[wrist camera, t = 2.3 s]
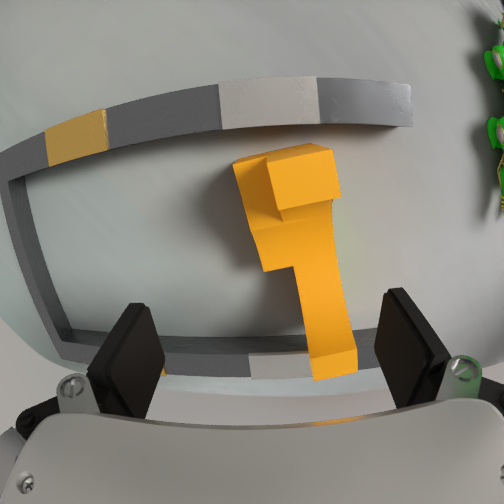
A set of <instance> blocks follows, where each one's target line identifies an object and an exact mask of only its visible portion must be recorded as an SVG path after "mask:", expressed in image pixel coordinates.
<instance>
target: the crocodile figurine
mask: <svg viewBox="0 0 504 504" xmlns="http://www.w3.org/2000/svg"><path fill="white" fill-rule="evenodd" d="M502 15H503V19H502V22H501V23H500V21H499V19H498V24H499V25H500V27H501V28H502V29H503V30H504V13H502ZM484 61H485V64H486V67H487V69H488V71H489V74H490V76H491V77H492V79H493V80H494V79H495V78H497V79H500V80H504V42H503V46H502V45H495V46H494V47H493V48H492V51H485V53H484ZM502 91H503V92H504V89H503V90H502ZM487 131H488V136H489V139H490V142H491V145H492V147H493V149H495V148H496V147H498V148H502V149H503V152H504V116H503V117H502V118H500V119H497V118H496V117H491V118H490V119H489V120H488V123H487ZM501 158H502V159H501V161H502V163H501V161H500V164H499V166H498V170H499V168H500V172H499V171H498V170H497V172H498V176H499V181H500V187H501V189H502V195H500V198H502V199H503V200H501V203H503V204H502V205H501V207H503V209H502V210H503V211H504V163H503V160H504V154H503V156H502V157H501ZM501 164H503V166H502V167H500V165H501Z"/></svg>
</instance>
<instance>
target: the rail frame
mask: <svg viewBox="0 0 504 504" xmlns="http://www.w3.org/2000/svg"><path fill="white" fill-rule="evenodd" d="M291 124H365V125H384V126H397V127H413V119H412V103H411V91H410V85H407V84H400V83H392V82H383V81H373V80H361V79H344V78H316V76H292V77H270V78H256V79H244V80H235V81H226V82H219V83H218V84H215V85H208V86H202V87H196V88H190V89H184V90H179V91H174V92H169V93H164V94H160V95H155V96H151V97H147V98H143V99H139V100H135V101H131V102H128V103H124V104H120V105H117V106H114V107H110V108H107V109H99V110H96V111H93V112H90V113H87V114H85V115H82V116H79V117H76V118H73V119H71V120H68V121H66V122H63V123H61V124H58V125H56V126H53V127H51V128H48V129H46V130H45V131H44V132H42V133H40V134H38V135H35V136H33V137H31V138H29V139H27V140H24V141H22V142H20V143H18V144H16V145H14V146H12V147H10V148H8V149H6V150H4V151H3V152H1V153H0V194H1V199H2V204H3V208H4V213H5V217H6V221H7V225H8V229H9V232H10V236H11V239H12V243H13V246H14V249H15V252H16V256H17V259H18V262H19V265H20V267H21V270H22V273H23V276H24V279H25V281H26V284H27V286H28V289H29V291H30V294H31V296H32V299H33V301H34V304H35V306H36V308H37V310H38V313H39V315H40V317H41V319H42V321H43V323H44V326H45V328H46V330H47V332H48V334H49V336H50V338H51V340H52V342H53V344H54V345H55V347H56V349H57V351H58V353H59V355H60V357H61V358H62V359H65V360H70V361H75V362H80V363H85V364H91V362H92V360H93V359H94V357H95V355H96V354H97V352H98V351H99V349H100V347H101V346H102V344H103V343H104V341H105V340H106V338H107V336H108V335H109V333H106V332H95V331H85V330H76V329H71V327H70V324H69V322H68V320H67V318H66V315H65V313H64V311H63V308H62V306H61V304H60V301H59V299H58V296H57V294H56V291H55V288H54V286H53V283H52V280H51V278H50V275H49V272H48V269H47V266H46V263H45V260H44V257H43V254H42V250H41V247H40V244H39V240H38V237H37V233H36V229H35V226H34V222H33V218H32V214H31V209H30V205H29V200H28V196H27V191H26V185H25V180H24V176H25V175H27V174H30V173H33V172H36V171H39V170H42V169H45V168H48V167H51V166H54V165H57V164H60V163H63V162H67V161H70V160H73V159H77V158H80V157H84V156H87V155H91V154H95V153H99V152H103V151H107V150H111V149H115V148H119V147H123V146H128V145H132V144H137V143H142V142H147V141H152V140H157V139H163V138H168V137H174V136H180V135H187V134H194V133H201V132H208V131H216V130H225V129H234V128H245V127H257V126H271V125H291ZM352 333H353V337H354V340H355V344H356V347H357V360H358V370H361V369H369V368H376V367H381V366H380V364H379V362H378V359H377V357H376V354H375V351H374V343H375V338H376V333H377V328H373V329H365V330H355V331H352ZM158 337H159V340H160V343H161V346H162V349H163V352H164V354H165V364H164V367H163V369H162V372H161V375H160V376H166V375H167V374H173V375H188V376H209V377H251V379H283V378H302V377H313V374H312V368H311V363H310V357H309V350H308V343H307V337H306V335H290V336H268V337H170V336H158Z"/></svg>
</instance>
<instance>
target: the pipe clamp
mask: <svg viewBox="0 0 504 504" xmlns="http://www.w3.org/2000/svg"><path fill="white" fill-rule="evenodd" d="M233 169H234V172H235V176H236V179H237V183H238V187H239V190H240V194H241V198H242V201H243V205H244V209H245V212H246V216H247V220H248V223H249V227H250V231H251V233H252V235H253V238H254V241H255V243H256V246H257V249H258V253H259V256H260V259H261V263H262V267H263V271H264V272H266V271H271V270H276V269H281V268H286V267H290V266H293V267H294V272H295V276H296V281H297V286H298V292H299V297H300V302H301V308H302V313H303V319H304V325H305V331H306V337H307V343H308V350H309V357H310V363H311V368H312V374H313V379H314V381H318V380H323V379H328V378H333V377H338V376H342V375H347V374H351V373H355V372H358V360H357V347H356V344H355V340H354V337H353V333H352V329H351V325H350V321H349V317H348V313H347V309H346V304H345V299H344V295H343V290H342V285H341V279H340V274H339V268H338V262H337V256H336V250H335V243H334V235H333V225H332V202H333V199H335V198H340V197H341V192H340V187H339V181H338V176H337V170H336V165H335V160H334V155H333V151H332V149H329V148H326V147H322V146H319V145H315V144H312V143H308V144H303V145H298V146H293V147H288V148H284V149H279V150H275V151H270V152H266V153H261V154H257V155H253V156H249V157H245V158H241V159H238V160H237V161H236V162H235V163H234V164H233Z"/></svg>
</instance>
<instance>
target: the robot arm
mask: <svg viewBox="0 0 504 504" xmlns="http://www.w3.org/2000/svg"><path fill="white" fill-rule="evenodd" d="M374 351H375V354H376V357H377V359H378V362H379V364H380V366H381V369H382V371H383V374H384V376H385V379H386V381H387V384H388V387H389V389H390V392H391V394H392V397H393V400H394V402H395V405H396V408H397V409H394V410H390V411H384V412H379V413H374V414H369V415H363V416H357V417H350V418H345V419H336V420H329V421H320V422H310V423H298V424H283V425H258V426H225V425H200V424H185V423H173V422H163V421H155V420H147V419H145V417H146V414H147V411H148V408H149V405H150V403H151V400H152V397H153V394H154V391H155V389H156V386H157V383H158V380H159V378H160V375H161V372H162V369H163V367H164V364H165V354H164V352H163V349H162V346H161V343H160V340H159V337H158V334H157V331H156V328H155V325H154V322H153V319H152V316H151V312H150V309H149V307H147V306H145V304H144V303H130V304H129V305H128V306H127V308H126V309H125V311H124V312H123V314H122V315H121V317H120V318H119V320H118V321H117V323H116V324H115V326H114V327H113V329H112V330H111V332H110V333H109V335H108V336H107V338H106V340H105V341H104V343H103V344H102V346H101V347H100V349H99V351H98V352H97V354H96V355H95V357H94V359H93V360H92V362H91V364H90V365H89V367H88V369H87V370H88V373H87V374H86V376H85V375H83V374H80V373H75V374H71V375H68V376H66V377H65V378H64V379H62V380H61V381H60V383H59V384H58V386H57V396H56V397H53V398H51V399H49V400H47V401H45V402H43V403H40V404H38V405H36V406H33V407H31V408H28V409H26V410H25V411H23V412H22V413H21V414H20V415H19V416H18V418H17V421H16V428H15V429H14V428H13V427H11V428H9V429H8V430H7V431H5V432H4V433H3V434H2V435H0V504H504V384H500V383H498V382H495V381H492V380H489V379H487V378H484V377H482V369H481V366H480V365H479V363H478V362H477V361H476V360H474V359H473V358H471V357H469V356H464V355H460V356H455V357H453V358H452V357H451V356H450V354H449V352H448V351H447V349H446V348H445V346H444V345H443V343H442V342H441V340H440V339H439V337H438V336H437V334H436V333H435V331H434V330H433V328H432V327H431V325H430V324H429V323H428V321H427V320H426V318H425V317H424V316H423V314H422V313H421V311H420V310H419V309H418V307H417V306H416V305H415V303H414V302H413V300H412V299H411V298H410V296H409V295H408V294H407V292H406V291H405V290H404V289H403V288H402V287H400V288H392V289H388V291H387V293H384V295H383V301H382V307H381V312H380V318H379V323H378V328H377V333H376V338H375V343H374Z"/></svg>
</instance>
